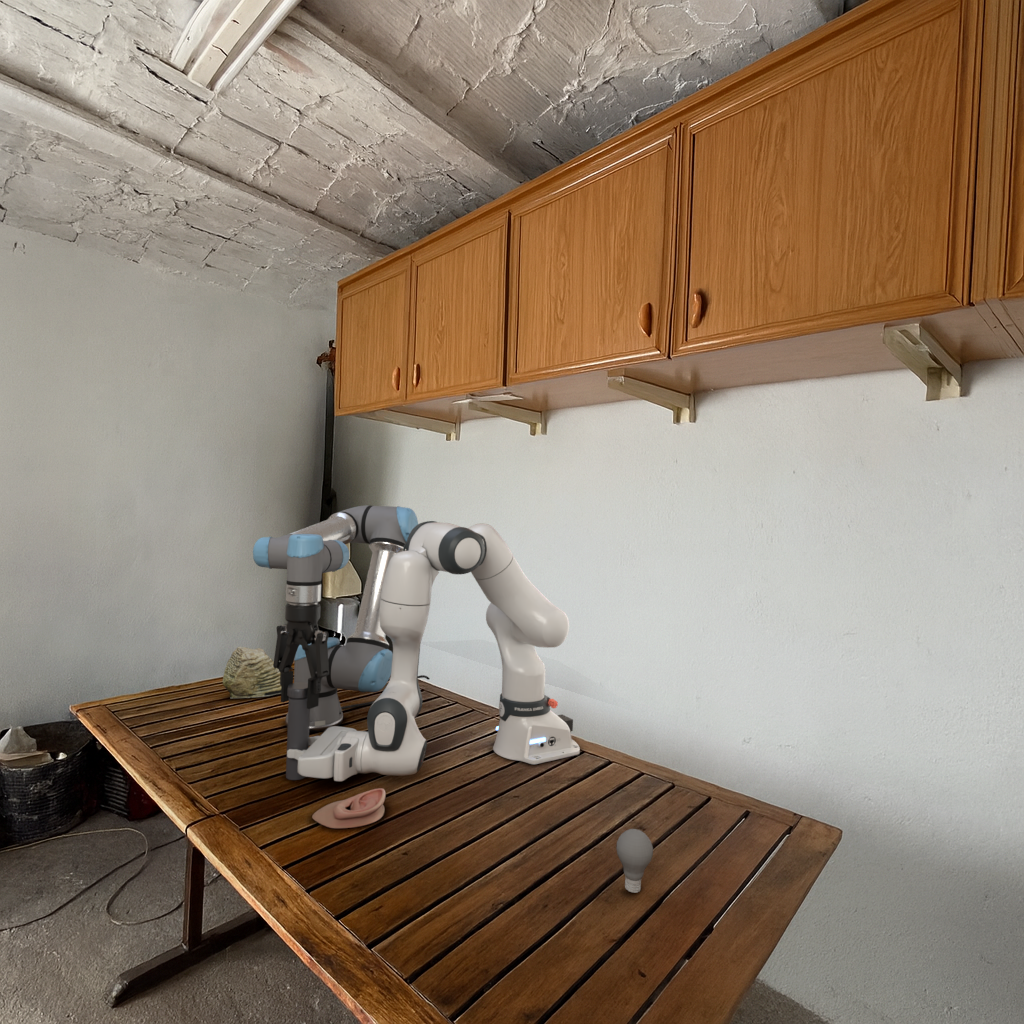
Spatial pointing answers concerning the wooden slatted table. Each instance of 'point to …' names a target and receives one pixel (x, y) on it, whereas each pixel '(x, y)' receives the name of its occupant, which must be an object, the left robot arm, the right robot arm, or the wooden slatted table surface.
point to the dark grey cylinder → (297, 733)
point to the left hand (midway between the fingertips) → (299, 703)
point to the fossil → (251, 674)
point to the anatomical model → (353, 810)
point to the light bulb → (634, 857)
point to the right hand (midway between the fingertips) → (293, 747)
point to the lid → (297, 690)
